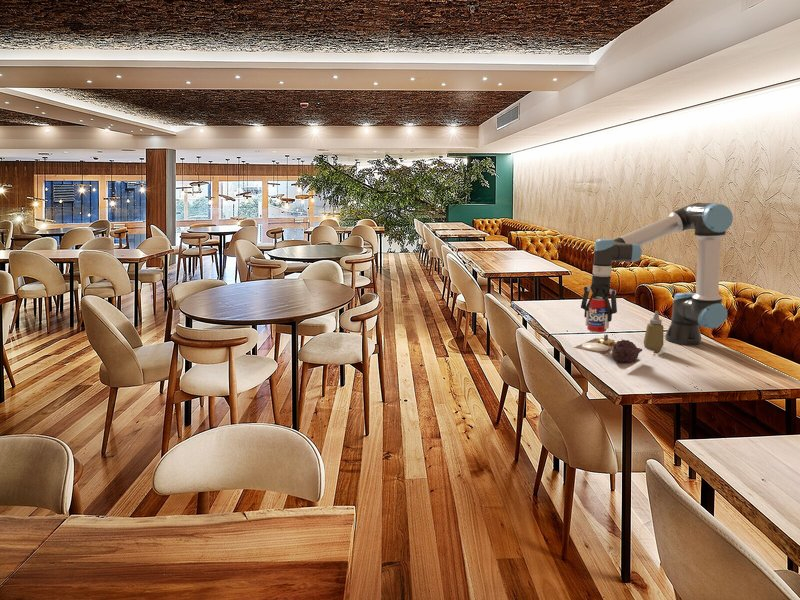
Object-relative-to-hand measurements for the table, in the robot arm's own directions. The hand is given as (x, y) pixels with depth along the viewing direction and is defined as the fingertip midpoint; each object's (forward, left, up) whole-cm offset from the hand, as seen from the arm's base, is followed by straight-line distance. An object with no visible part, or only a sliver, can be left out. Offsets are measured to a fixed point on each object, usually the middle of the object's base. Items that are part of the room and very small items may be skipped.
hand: (596, 326), depth 234 cm
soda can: (0, 0, -2) cm, 2 cm away
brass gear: (0, -11, -10) cm, 14 cm away
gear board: (0, -5, -11) cm, 12 cm away
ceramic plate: (0, 0, -10) cm, 10 cm away
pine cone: (-16, +8, -11) cm, 21 cm away
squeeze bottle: (-18, -19, -11) cm, 28 cm away
